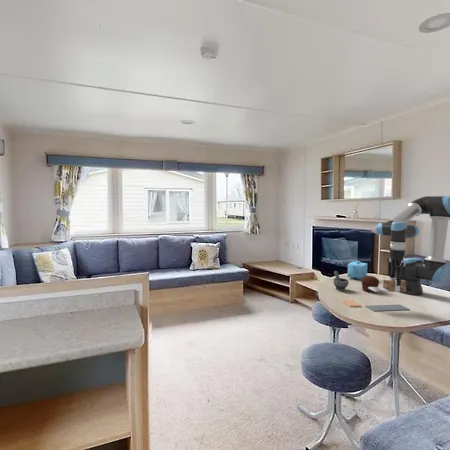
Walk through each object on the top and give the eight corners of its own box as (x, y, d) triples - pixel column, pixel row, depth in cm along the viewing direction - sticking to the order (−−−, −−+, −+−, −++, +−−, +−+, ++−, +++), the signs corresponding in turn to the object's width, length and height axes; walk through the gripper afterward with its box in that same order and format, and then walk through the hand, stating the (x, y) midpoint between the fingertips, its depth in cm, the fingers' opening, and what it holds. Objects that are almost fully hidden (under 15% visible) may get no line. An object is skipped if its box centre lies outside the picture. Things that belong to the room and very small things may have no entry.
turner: (399, 289, 181) (400, 279, 181) (408, 292, 174) (409, 282, 174) (367, 289, 178) (368, 279, 178) (375, 292, 171) (376, 282, 171)
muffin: (360, 292, 208) (361, 277, 208) (359, 287, 219) (360, 273, 218) (380, 294, 205) (381, 279, 204) (378, 289, 215) (378, 275, 214)
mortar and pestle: (351, 290, 211) (352, 273, 210) (340, 292, 207) (341, 274, 206) (338, 286, 221) (339, 269, 220) (328, 287, 217) (329, 270, 216)
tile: (353, 300, 188) (342, 300, 187) (361, 305, 179) (349, 305, 178) (353, 302, 188) (341, 302, 187) (361, 307, 179) (349, 308, 178)
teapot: (353, 275, 256) (354, 258, 255) (367, 277, 250) (368, 260, 248) (344, 280, 239) (345, 262, 238) (360, 282, 232) (361, 264, 231)
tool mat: (400, 305, 183) (400, 304, 183) (410, 310, 175) (410, 309, 175) (365, 306, 179) (365, 305, 179) (373, 311, 171) (374, 310, 171)
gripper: (382, 247, 182) (379, 286, 184) (401, 251, 166) (398, 294, 168) (393, 247, 183) (391, 286, 185) (414, 251, 168) (411, 294, 169)
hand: (394, 290), depth 177 cm, fingers closed on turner, 3 cm apart
